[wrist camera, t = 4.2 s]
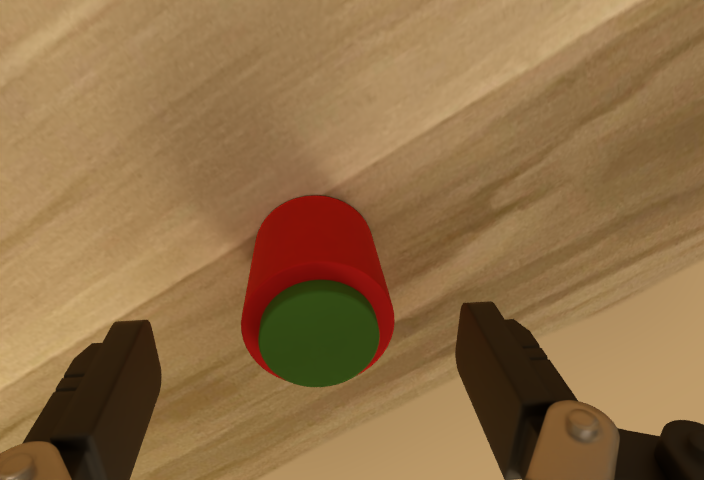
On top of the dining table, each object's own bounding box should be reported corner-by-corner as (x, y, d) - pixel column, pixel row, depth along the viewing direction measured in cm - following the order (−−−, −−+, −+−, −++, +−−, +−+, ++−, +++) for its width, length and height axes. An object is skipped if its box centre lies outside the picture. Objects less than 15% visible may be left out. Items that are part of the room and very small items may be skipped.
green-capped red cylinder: (374, 192, 16) (402, 269, 12) (371, 295, 18) (395, 396, 14) (249, 197, 16) (229, 278, 12) (260, 301, 18) (246, 407, 13)
